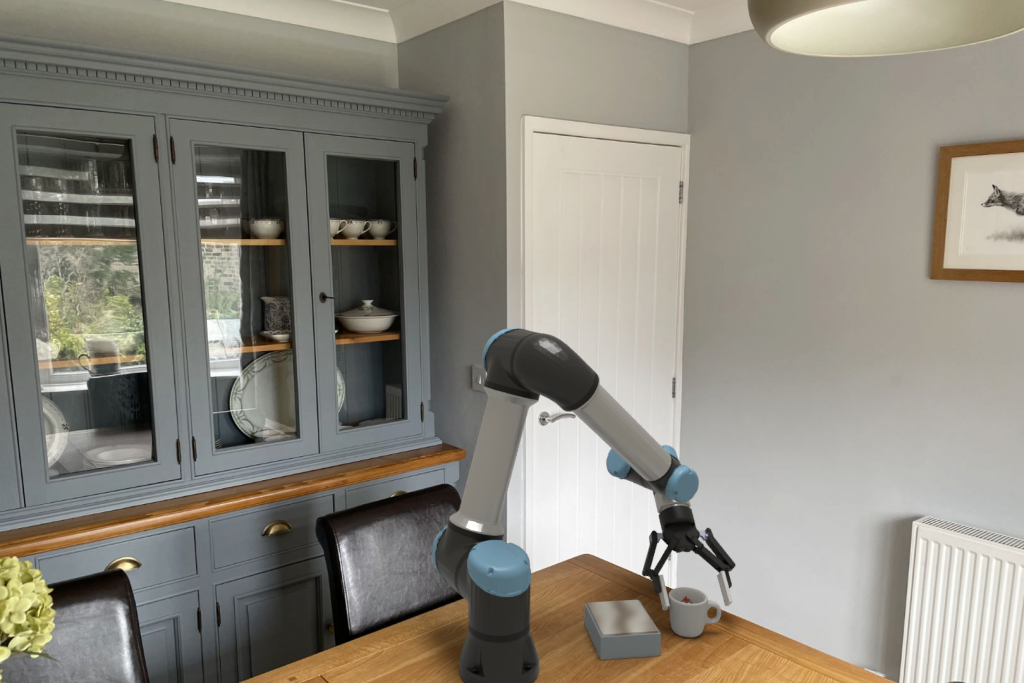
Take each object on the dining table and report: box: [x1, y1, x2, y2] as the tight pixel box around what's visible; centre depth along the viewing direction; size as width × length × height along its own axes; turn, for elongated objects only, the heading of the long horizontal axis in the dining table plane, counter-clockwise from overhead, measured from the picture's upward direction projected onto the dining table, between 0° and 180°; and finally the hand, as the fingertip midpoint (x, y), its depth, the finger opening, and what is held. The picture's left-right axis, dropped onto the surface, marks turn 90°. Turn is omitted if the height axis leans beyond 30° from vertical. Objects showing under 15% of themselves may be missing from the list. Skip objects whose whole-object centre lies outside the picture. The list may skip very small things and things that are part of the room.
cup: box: [668, 586, 722, 638], centre depth 155 cm, size 11×8×8 cm
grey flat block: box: [583, 599, 662, 661], centre depth 152 cm, size 12×14×5 cm
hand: (697, 606), depth 154 cm, fingers open, 13 cm apart
